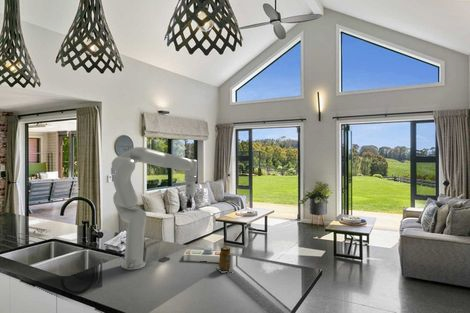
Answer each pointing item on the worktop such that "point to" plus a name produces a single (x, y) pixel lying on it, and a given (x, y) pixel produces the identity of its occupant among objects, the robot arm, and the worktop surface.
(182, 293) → the worktop surface
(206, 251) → the key slate
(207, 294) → the worktop surface
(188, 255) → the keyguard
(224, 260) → the condiment
